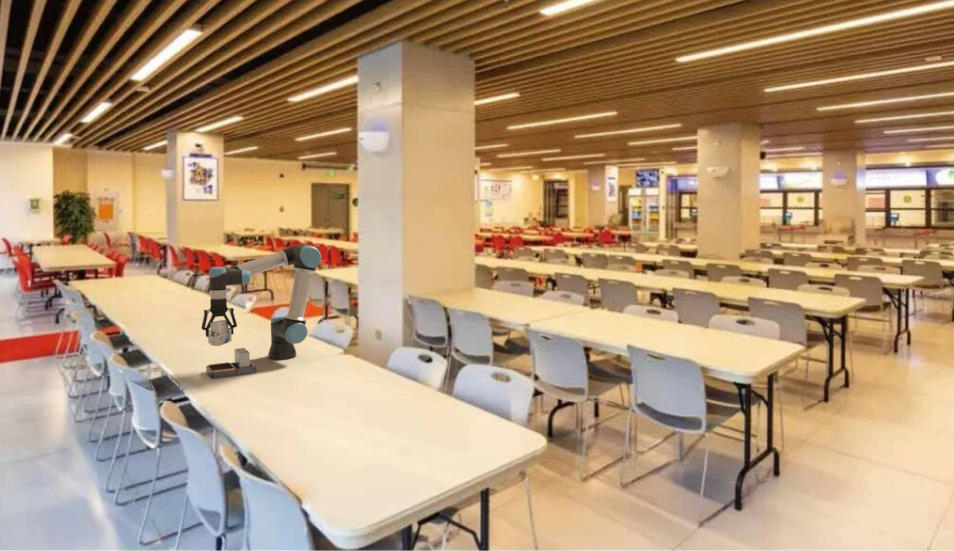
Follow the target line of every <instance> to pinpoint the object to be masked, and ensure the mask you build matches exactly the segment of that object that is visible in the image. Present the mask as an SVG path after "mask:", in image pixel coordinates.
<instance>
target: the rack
mask: <svg viewBox="0 0 954 551" xmlns="http://www.w3.org/2000/svg"><path fill="white" fill-rule="evenodd" d="M233 352H234V361H233V362H229V361H228V362H218V363H212V364H210V363H209V364H208V365H206V373H207V375H208V376H209V378H210V380H214V379H221V378H223V379H224V378H228V377H230V378H231V377H236V376H244V375H252V374H256V373H257V371H256V370H257V368H256V365H254V364H253V363H252V362H251V361H250V351H249V350H247V349H246V348H245V347H241V348H234V351H233Z"/></svg>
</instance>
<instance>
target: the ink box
mask: <svg viewBox="0 0 954 551" xmlns="http://www.w3.org/2000/svg"><path fill="white" fill-rule="evenodd" d="M229 328H230V326H229V324H228V323H227V321H226V320H225V319H219V320H215V321H213V322H212V323H210V328H209V330H210V334H211V344H210V346H213V347H214V346H215V347H216V346H217V347H220V346H222V345H226V344H228V343H230V341H229Z"/></svg>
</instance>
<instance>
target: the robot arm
mask: <svg viewBox="0 0 954 551" xmlns="http://www.w3.org/2000/svg"><path fill="white" fill-rule="evenodd" d="M321 260H322V254H321V252H320V251H319V249H318V247H315V246H312V245H307V244H295V245H292V246H288V247H286V248H283V249H280V250H279V251H278V252H276V253H272V254H269V255H266V256H262V257H259V258H256V259H252V260H248V261H247V262H242V263H239V264H236V265H233V266H229V267H227V266H226V267H224V266H215V267H214V266H213V267H210V268H209V276H208V277H209V278H208V279H209V298H210V304H209V305H210V306H209V307H210V308H209V309H203V319H202V324H201V330H202V331H205V337H206V338H207V341H208V342H207V344H210V345H211V332H210V323H212V322H214V320H215V318H219V317H223V318H224V320H226V321H227V323H228V324H229V343H231V342H232V335H234V328H237V327H238V324H237V320H236V318H235V317H236V316H235V313H234V309H235V308H233V307H228V304H227V286H238V285H241V286H242V285H247V284H250V282H251V277H252V276H253V275H256V274H260V273H264V272H266V271H269V270H274V269H276V268H279V267H282V266H283V267H289V266H293V269H294V270H295V273H294V274H295V275H294V279H293V285H292V291H291V296H290V300H289V307H288V312H287V313H288V314H287V315H284V316H283V315H282V316H274V317H272V318H271V320H270V339H271V340H270V342H271V343H270V348H269V350H268V359H270V360H280V361H281V360H290V359H293V358H296V357H297V351H296V348H295V344H296V345H297V344H301V343H302V342H304V341H305V340H306V338H307V336H308V334H309V333H308V331H309V330H308V328H307V326H306V322H307V319H306V318H305V311H306V307H307V302H308V296H309V292H310V291H309V290H310V285H311V281H312V275H313V274H314V273H315V272H316V269H317V267H318V266H319V264H320V263H321ZM227 312H229V313H230V317H231V320H232V322H231V321H230V318H229V317H228V316H227ZM210 313H211V317H210V319H209V320H208V317H209V316H208V315H209V314H210ZM207 320H208V321H207Z"/></svg>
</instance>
